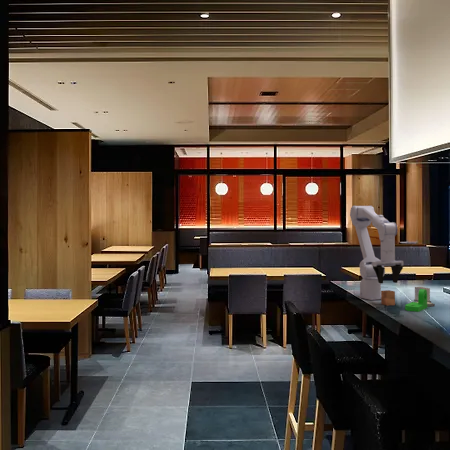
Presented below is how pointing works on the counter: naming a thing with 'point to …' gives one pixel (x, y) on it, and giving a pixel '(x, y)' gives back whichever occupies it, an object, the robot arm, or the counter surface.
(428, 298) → the block
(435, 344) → the counter surface
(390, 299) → the terracotta block
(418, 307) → the mechanical part
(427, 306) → the pad
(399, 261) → the robot arm
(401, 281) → the counter surface
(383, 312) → the counter surface
